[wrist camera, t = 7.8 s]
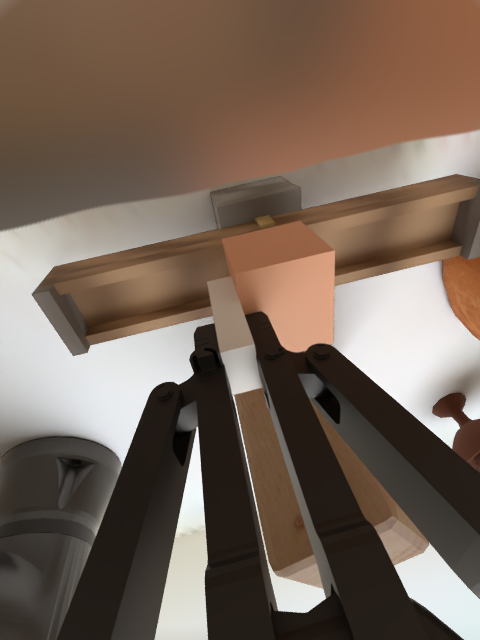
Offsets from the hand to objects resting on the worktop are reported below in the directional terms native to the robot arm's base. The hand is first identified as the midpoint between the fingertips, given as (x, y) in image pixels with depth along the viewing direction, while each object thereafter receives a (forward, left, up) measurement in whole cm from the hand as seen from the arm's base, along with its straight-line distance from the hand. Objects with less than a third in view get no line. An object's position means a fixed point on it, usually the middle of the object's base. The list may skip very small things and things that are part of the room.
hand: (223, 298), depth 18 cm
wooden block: (+5, -19, -11) cm, 22 cm away
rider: (+3, 0, -3) cm, 4 cm away
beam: (+4, 0, -10) cm, 11 cm away
